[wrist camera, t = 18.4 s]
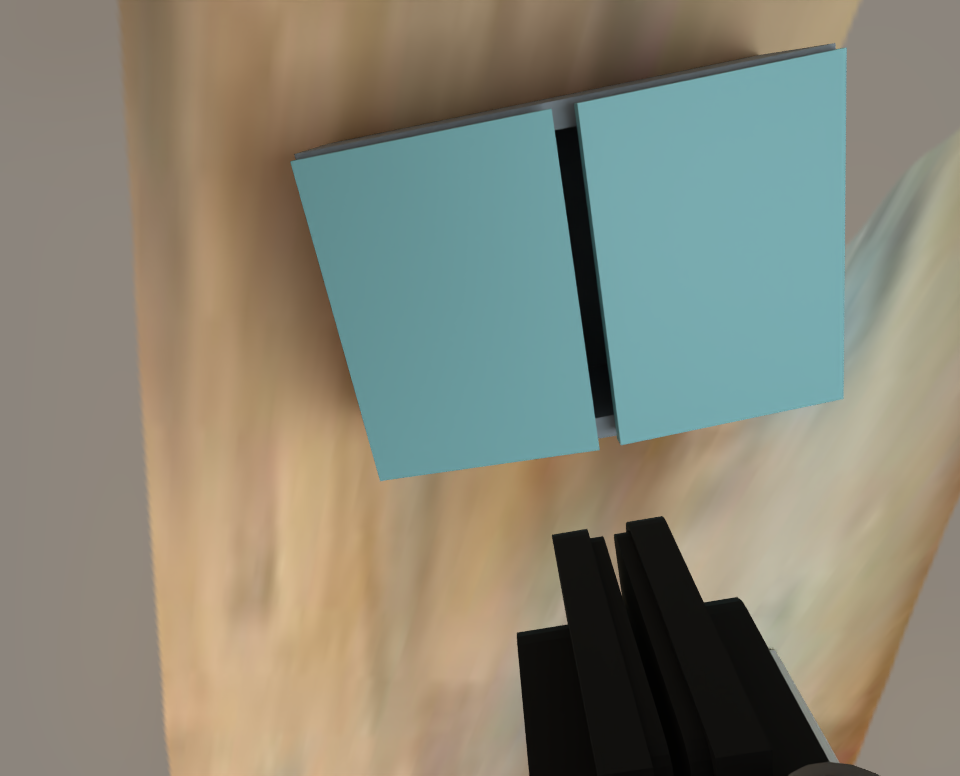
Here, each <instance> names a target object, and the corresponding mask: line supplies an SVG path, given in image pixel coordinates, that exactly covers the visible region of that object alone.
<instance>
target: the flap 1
mask: <svg viewBox="0 0 960 776" xmlns="http://www.w3.org/2000/svg"><path fill="white" fill-rule="evenodd" d="M291 166H292V170H293V173H294V177H295V180H296V184H297V187H298V191H299V194H300V198H301V201H302V205H303V209H304V212H305V216H306V219H307V223H308V226H309V230H310V233H311V237H312V241H313V244H314V248H315V251H316V255H317V258H318V262H319V265H320V269H321V273H322V276H323V280H324V283H325V287H326V290H327V294H328V297H329V301H330V304H331V308H332V312H333V315H334V319H335V322H336V326H337V329H338V333H339V336H340V340H341V344H342V347H343V351H344V354H345V358H346V361H347V365H348V368H349V372H350V376H351V379H352V383H353V386H354V390H355V393H356V397H357V400H358V404H359V407H360V411H361V415H362V418H363V422H364V425H365V429H366V432H367V436H368V439H369V443H370V447H371V450H372V454H373V457H374V461H375V464H376V468H377V471H378V475H379V478H380V481H383V480H390V479H397V478H405V477H412V476H419V475H426V474H433V473H440V472H447V471H454V470H461V469H468V468H475V467H482V466H489V465H497V464H504V463H511V462H518V461H525V460H532V459H539V458H546V457H553V456H560V455H567V454H574V453H581V452H589V451H596V450H600V449H599V442H598V435H597V428H596V421H595V414H594V407H593V400H592V393H591V386H590V378H589V371H588V364H587V357H586V350H585V343H584V336H583V329H582V322H581V315H580V308H579V300H578V293H577V286H576V279H575V272H574V265H573V258H572V251H571V244H570V237H569V230H568V222H567V215H566V208H565V201H564V194H563V187H562V180H561V173H560V166H559V159H558V152H557V144H556V137H555V130H554V123H553V116H552V109H551V108H550V109H545V110H540V111H535V112H530V113H525V114H520V115H515V116H510V117H505V118H500V119H496V120H491V121H486V122H481V123H476V124H471V125H466V126H461V127H456V128H451V129H446V130H441V131H436V132H431V133H426V134H421V135H417V136H412V137H407V138H402V139H397V140H392V141H387V142H382V143H377V144H372V145H367V146H362V147H357V148H352V149H347V150H342V151H337V152H333V153H328V154H323V155H318V156H313V157H308V158H303V159H298V160H294V161H291Z"/></svg>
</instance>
